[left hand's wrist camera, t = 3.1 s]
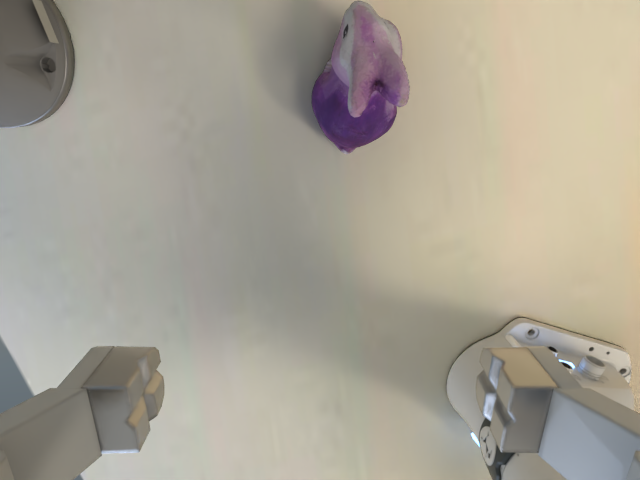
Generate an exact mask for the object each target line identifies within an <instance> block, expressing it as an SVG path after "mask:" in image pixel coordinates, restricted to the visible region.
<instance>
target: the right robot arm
mask: <svg viewBox="0 0 640 480" xmlns="http://www.w3.org/2000/svg"><path fill="white" fill-rule="evenodd" d="M73 74H74V52H73V46H72V42H71V37H70V34H69V31H68V28H67V26H66V24H65V21H64V19H63V17H62V15H61V14H60V12H59V10H58V9H57V7H56V5H55V4H54V2H53V1H52V0H0V128H12V127H21V126H28V125H32V124H35V123H38V122H40V121H43V120H44V119H46V118H48V117H49V116H51V115H52V114H53V113H54V112H55V111H56V110H57V109H58V108H59V107H60V106H61V105H62V103H63V102H64V100H65V99H66V97H67V95H68V93H69V90H70V87H71V84H72V80H73Z"/></svg>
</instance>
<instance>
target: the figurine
mask: <svg viewBox="0 0 640 480" xmlns="http://www.w3.org/2000/svg"><path fill="white" fill-rule="evenodd" d="M405 70H406V68H405V66H404V65H403V61H402V43H401V37H400V34H399V32H398V29H397V28H396V26H395V25H394V24H393V23H391V22H390V21H388V20H385V19H383V18H381V17H380V16H379V15H378V14H377V13H376V12H375V11H374V9H373V8H372V7H371V6H370V5H369V4H368V3H365V2H362V1H354V2H353V3H352V4H351V6H350V7H349V8H348V9H347V10H346V12H345V14H344V17H343V20H342V25H341V28H340V31H339V34H338V37H337V40H336V42H335V45H334V48H333V52H332V56H331V59H330V60H329V61H328V62H327V64H326V66H325V69H324V71H323V73H322V74H321V75H320V76H319V77H318V79H317V81H316V82H315V85H314V88H313V91H312V107H313V111H314V113H315V116H316V118H317V121H318V123H319V125H320V127H321V129H322V130H323V132H324V133H325V135H326V136H327V137H328V138H329V139H330V140H331V141H332V142H334V144H335V145H336V146H337V147H338V148H339V150H340V151H341V152H343V153H344V154H349V153H351V152H352V151H353V150H354V149H355V148H356V147H360V146H363V145H366V144H368V143H370V142H372V141H374V140H376V139H378V138H379V137H381V136H382V135H383V134H385V133H386V132H387V131H388V130H389V129H390V128H391V126H392V125H393V123H394V120H395V117H396V114H397V107H396V106H398V107H401V106H404V105H406V104H407V100H408V99H409V97H408V96H409V89H410V86H409V80H408V75H407V72H406V71H405Z"/></svg>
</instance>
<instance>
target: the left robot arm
mask: <svg viewBox="0 0 640 480" xmlns="http://www.w3.org/2000/svg"><path fill="white" fill-rule="evenodd" d="M531 329H532V331H531V332H528V331H529V330H531ZM160 362H161V360H160V355H159V350H158V349H156V348H155V347H121V346H117V347H114V346H97V347H94V348H91V349H90V351H89V352H88V353H87V354H86V355H85V356H84V357H83V359H82V360H81V361H80V362H79V363H78V364H77V365H76V367H75V368H74V369H73V370H72V371H71V372H70V373H69V375H68V376H67V377H66V378H65V379H64V380H63V381H62V383H61V384H60V385H59V386H58V387H57V388H50V389H48V390H46V391H44V392H42V393H40V394H38V395H36V396H34V397H32V398H30V399H28V400H26V401H24V402H22V403H20V404H18V405H16V406H14V407H12V408H10V409H8V410H6V411H4V412H2V413H0V480H73V479H74V478H76V477H77V476H78V475H79V474H80V473H82V472H83V471H84V470H85V469H86V468H87V467H89V466H90V465H91V464H92V463H93V462H95V461H96V460H97V459H98V458H99V457H100V456H102V453H130V452H140V450H141V448H142V446H143V444H144V442H145V440H146V438H147V436H148V434H149V432H150V425H149V421H150V420H152V419H153V418H155V417H156V416H157V415H158V413H159V411H160V409H161V407H162V402H163V398H164V379H163V376H162V375H161V374H160V373H159V372H158V371H157V370H156V369H157V368H158V366H159V364H160ZM630 379H631V360H630V357H629V354H628V353H627V352H626V350H625V349H624V348H622V347H619V346H616V345H613V344H610V343H606V342H603V341H600V340H596V339H593V338H590V337H586V336H583V335H580V334H577V333H573V332H570V331H567V330H563V329H560V328H557V327H553V326H550V325H547V324H543V323H540V322H537V321H533V320H530V319H527V318H517V319H515V320H513V321H512V322H510V323H509V324H508V325H507V326H505V327H504V328H503V329H502V330H501V331H500V332H498V333H497V334H495V335H493V336H490V337H488V338H485V339H483V340H481V341H479V342H477V343H475V344H473V345H472V346H470V347H469V348H468V349H466V350H465V351H464V352H463V353H462V354H461V355H460V356H459V357H458V358H457V360H456V361H455V362H454V364H453V366H452V367H451V369H450V372H449V375H448V378H447V395H448V398H449V401H450V403H451V405H452V407H453V408H454V409H455V410H456V412H457V413H458V414H459V415H460V416H461V417H462V418H463V420H464V421H465V422H466V423H467V425H468V426H469V428H470V429H471V431H472V432H473V433H471V435H472V438H473V439H474V440H475V442H476V443H477V444H478V445H479V446H480V448H481V452H482V455H483V457H484V460H485V463H486V465H487V468H488V470H489V472H490V475H491V477H492V479H493V480H640V413H638V412H636V411H634V407H635V399H634V394H633V391H632V388H631V387H630V385H629V383H630Z"/></svg>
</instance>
